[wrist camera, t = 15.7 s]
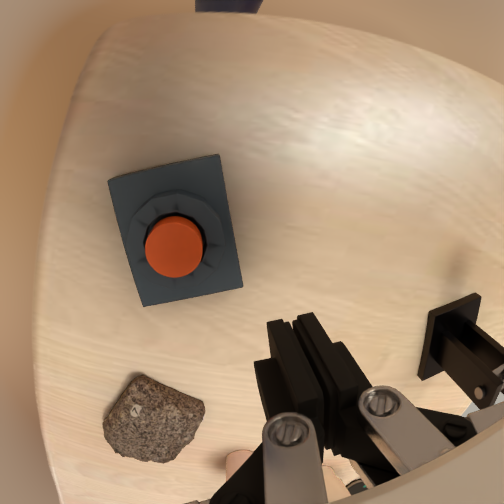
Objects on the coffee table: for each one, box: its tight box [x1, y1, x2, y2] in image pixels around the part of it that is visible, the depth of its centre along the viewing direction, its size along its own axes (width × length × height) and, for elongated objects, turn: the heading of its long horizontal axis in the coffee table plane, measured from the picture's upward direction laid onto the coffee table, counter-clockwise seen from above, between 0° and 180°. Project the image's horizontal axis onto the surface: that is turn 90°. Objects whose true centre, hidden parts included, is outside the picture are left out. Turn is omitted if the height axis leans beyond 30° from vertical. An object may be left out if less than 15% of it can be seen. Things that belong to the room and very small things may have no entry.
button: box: [145, 216, 202, 278], centre depth 20 cm, size 4×4×2 cm
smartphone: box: [346, 480, 368, 495], centre depth 45 cm, size 8×1×15 cm
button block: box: [108, 154, 243, 307], centre depth 22 cm, size 10×8×4 cm
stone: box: [103, 375, 205, 463], centre depth 28 cm, size 12×9×4 cm
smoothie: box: [226, 450, 253, 481], centre depth 28 cm, size 6×6×14 cm
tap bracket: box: [418, 293, 504, 410], centre depth 28 cm, size 10×8×12 cm
